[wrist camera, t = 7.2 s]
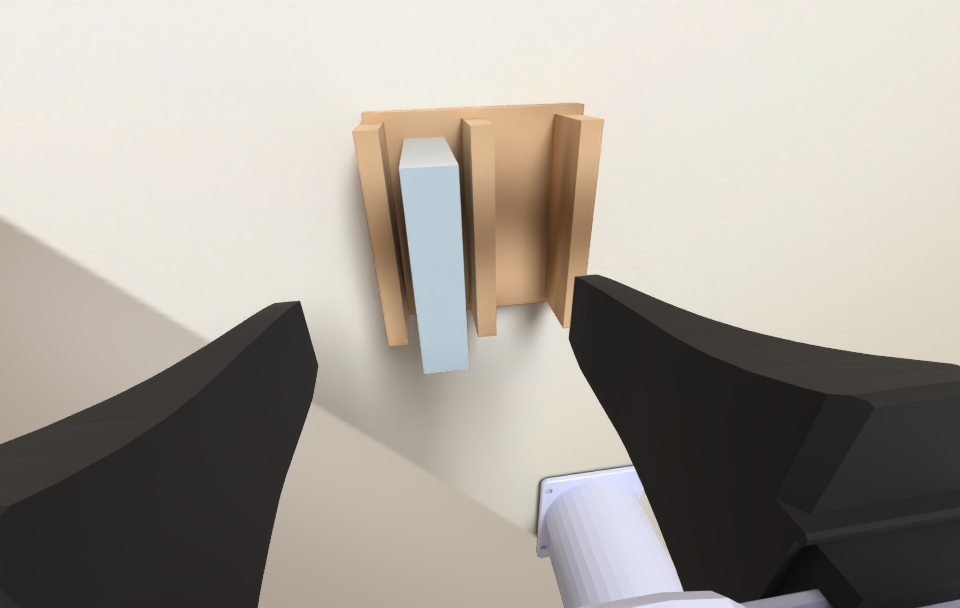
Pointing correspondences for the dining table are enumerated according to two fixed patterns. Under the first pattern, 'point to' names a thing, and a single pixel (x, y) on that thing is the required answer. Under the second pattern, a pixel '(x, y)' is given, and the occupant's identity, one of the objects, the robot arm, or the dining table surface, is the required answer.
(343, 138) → the dining table surface
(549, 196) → the rack
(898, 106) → the dining table surface
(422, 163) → the pale blue upright slab
